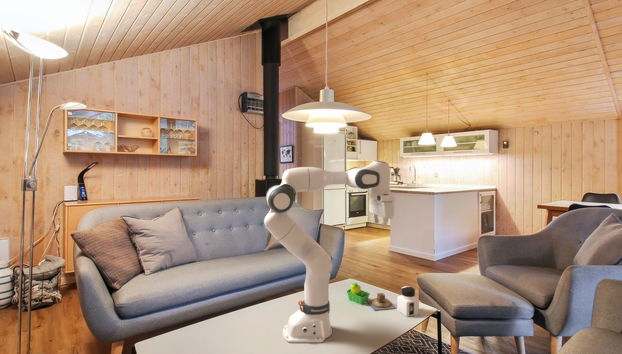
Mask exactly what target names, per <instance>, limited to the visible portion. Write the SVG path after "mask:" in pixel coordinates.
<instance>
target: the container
mask: <svg viewBox="0 0 622 354" xmlns="http://www.w3.org/2000/svg"><path fill="white" fill-rule="evenodd" d="M415 296H416V289H415V288H414V287H412V286H408V285H405V286H403V287H401V295H399V296H397V297H396V298H397V300H396V301H397V304H396V305H397V306H396V309H397V311H398V313H400V314H402V315H403V316H404V317H406V318H408V317H412V316H416V315H419V313H420V312H419V311H420V310H419V308H420V299H418V298H417V297H415Z"/></svg>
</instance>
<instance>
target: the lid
mask: <svg viewBox="0 0 622 354" xmlns="http://www.w3.org/2000/svg"><path fill="white" fill-rule="evenodd" d="M385 298H386V295H385V293H384V292H380V293H378V292H377V294H376V297H375V298H373V299H371V300H372V305H373V306H375V307H378V308H387V307H389V306H390V305H391V303H392V302H391V300H389V299H388V298H387V299H385Z"/></svg>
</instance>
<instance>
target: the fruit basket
mask: <svg viewBox="0 0 622 354" xmlns="http://www.w3.org/2000/svg"><path fill="white" fill-rule="evenodd" d="M346 294H347V296H348V297H347V298H348V300H349V301H352V302H354V303H355V304H358V303H359V304H358V305H361V306H362V305H364V304H366V303H368V302H367V301H368V300H369V296H370V292H368V291H366V290H362V288H361V286H360V285H359V284H357V282H353V283H351V285H350V289H347V290H346Z"/></svg>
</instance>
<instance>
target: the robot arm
mask: <svg viewBox="0 0 622 354" xmlns="http://www.w3.org/2000/svg"><path fill="white" fill-rule="evenodd" d="M281 176H282V177H281V183H280V184H275V185H272V186H271V187H269V188H268V190H267V191H266V195H265V199H266V203H267V207H268V210H269V211H268V213H267V214H266V216H264V219H263V224H264V226H265V228H266V229H267V231H268V232H269V233H270V234H271V235H272V236H273V238H275V240H276V241H277V242H279V243H280V244H281V245H282V246H283V247H284V248H285V249H286V250H287V251H288V252H289V253H291V254H292V255H294V256H295V257H296V258H297V259H299V260H300V261H301V262H302V263H303V264H304V266H305V269H306V270H305V281H304V284H303V286H304V289H303V290H304V291H303V292H304V293H303V294H304V298H303V301H302V299H298V300H297V304H298V306H299V308H298V310H296V311H295V312H293V313H292V314H291V315H290V316H289V318H288V321H287V324H285V325H284V326H283V328H282V336H283V339H284V340H285V341H286V342H288V343H295V344H296V343H323V342H324V341H325V340H326V339H327V338H328V337H330V336H331V335H332V333H333V329H332V325H331V320H330V311H331V308H330V307H331V305H330V300H329V284H330V278H331V273H332V271H333V261H332V258H331V256H330V255H329V254H328V253H327V252H326V250H325V249H324V248H323V246H321V245H320V244H319V243H318V242H317V241H316V240H315V239H314V238H313V237H312V236H311V235H309V234H308V233H307V232H306V231H305V230H304V229H303V228H302V227H301V226H299V224H297V223H296V222H295V221H294V219H292V217H291V216H289V214H288V213H287V212H288V211H289V210H291V208H292V207H293V204H294V202H295V198H296V195H297V193H306V192H307V193H309V192H319V191H322V190H323V189H325V187H327V186H330V185H345V186H346V185H347V186H349V187H351V188H353V189H354V188H356V189H360V190H368V189H370V198H369V204H368V210H369V213H371V214H372V218H373V223H374V224H379V223H380V221H379V217H381V218H382V223H381V227H382V228H387V227H388V222H389V219H391V220H392V219H393V218H394V212H395V210H394V209H395V205H394V202H395V200H396V199H395V198H396V197H395V196H394V195H393V194H392V192H391V186H390V182H391V168H390V165H389V163H388V162H386V161H381V160H373V161H372V162H371V163H369V164H368V165H365V166H364V167H358V166H357V167H356V166H355V167H351V168H349V169H347V170H342V171H341V170H338V171H335V170H334V171H328V170H325V169H323V168H321V167H313V166H299V167H292V168H287V169H286V170H285V171H284V172H283V174H282V175H281Z"/></svg>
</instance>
